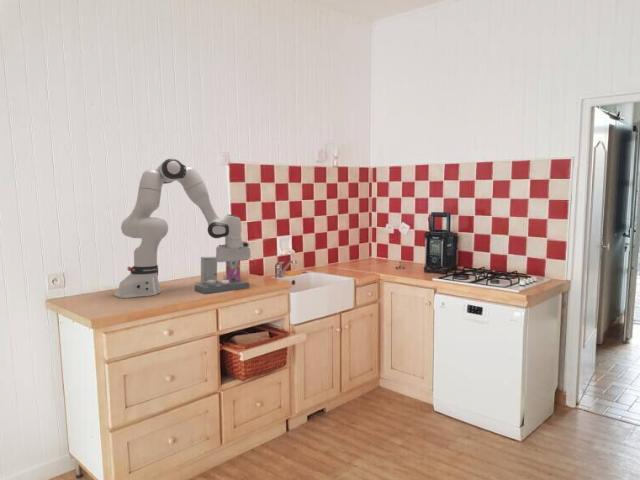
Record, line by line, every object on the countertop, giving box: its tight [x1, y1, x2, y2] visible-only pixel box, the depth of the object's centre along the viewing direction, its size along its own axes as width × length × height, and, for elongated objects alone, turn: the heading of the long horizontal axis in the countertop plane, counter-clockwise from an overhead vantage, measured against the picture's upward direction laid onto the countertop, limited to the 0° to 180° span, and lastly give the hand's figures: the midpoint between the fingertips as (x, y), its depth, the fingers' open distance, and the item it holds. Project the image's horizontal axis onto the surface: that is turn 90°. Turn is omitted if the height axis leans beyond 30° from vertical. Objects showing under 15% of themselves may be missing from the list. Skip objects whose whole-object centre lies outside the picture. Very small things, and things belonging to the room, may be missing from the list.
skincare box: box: [200, 256, 218, 284], centre depth 285 cm, size 8×6×15 cm
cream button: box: [220, 279, 229, 285], centre depth 262 cm, size 4×4×2 cm
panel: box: [194, 279, 250, 295], centre depth 264 cm, size 26×12×3 cm, turn 131°
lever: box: [231, 264, 241, 280], centre depth 274 cm, size 2×2×10 cm
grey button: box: [207, 280, 216, 285], centre depth 256 cm, size 4×4×2 cm
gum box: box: [225, 260, 241, 281], centre depth 299 cm, size 24×8×14 cm, turn 12°
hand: (233, 268), depth 273 cm, fingers closed
